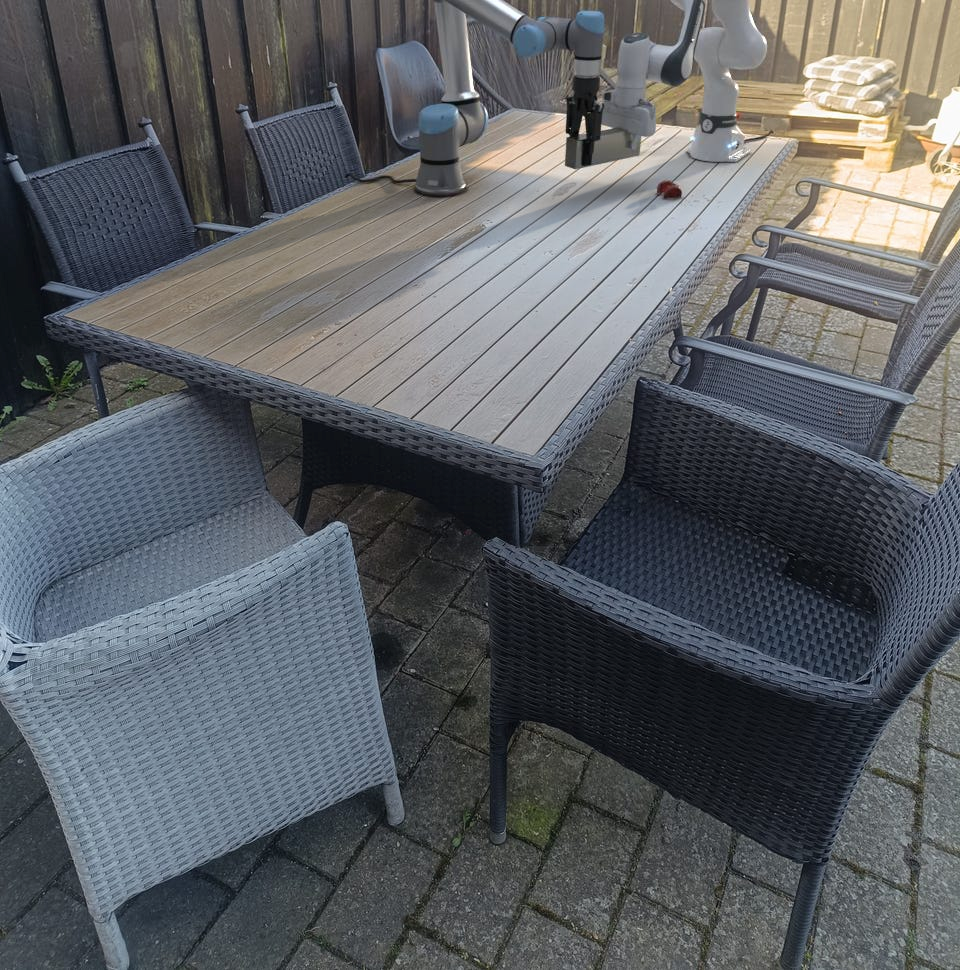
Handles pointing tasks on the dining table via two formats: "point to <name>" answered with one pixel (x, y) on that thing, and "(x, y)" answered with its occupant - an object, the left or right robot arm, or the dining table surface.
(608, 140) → the bar
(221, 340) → the dining table surface
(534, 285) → the dining table surface
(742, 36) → the right robot arm
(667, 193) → the dental model
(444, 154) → the left robot arm
